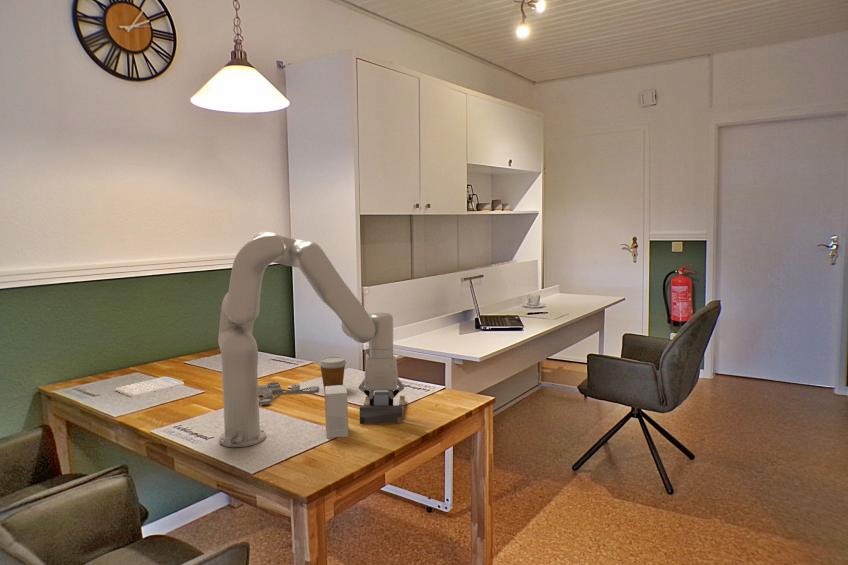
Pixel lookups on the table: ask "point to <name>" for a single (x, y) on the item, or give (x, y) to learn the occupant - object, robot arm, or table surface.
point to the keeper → (381, 398)
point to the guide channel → (381, 412)
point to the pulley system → (276, 388)
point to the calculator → (149, 386)
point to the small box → (336, 411)
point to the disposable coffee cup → (332, 371)
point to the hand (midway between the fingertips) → (381, 409)
